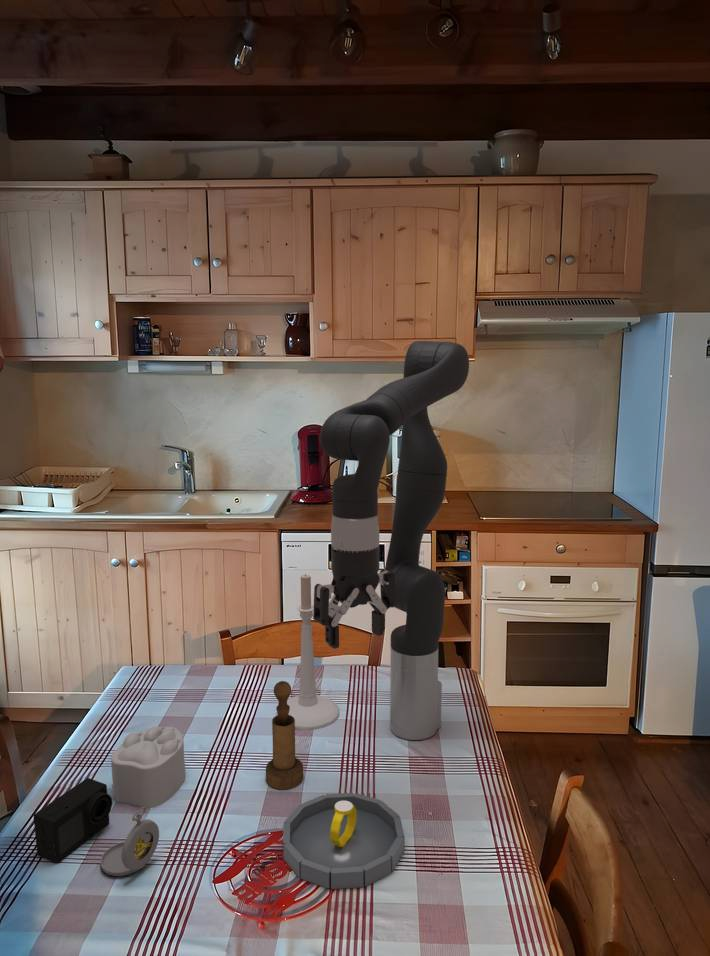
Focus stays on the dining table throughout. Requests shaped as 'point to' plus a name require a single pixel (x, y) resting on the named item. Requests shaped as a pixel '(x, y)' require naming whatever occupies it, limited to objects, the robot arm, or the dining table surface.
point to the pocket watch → (132, 848)
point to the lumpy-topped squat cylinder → (149, 767)
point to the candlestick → (309, 675)
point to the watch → (341, 810)
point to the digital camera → (72, 820)
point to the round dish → (361, 856)
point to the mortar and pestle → (283, 745)
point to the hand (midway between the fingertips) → (355, 640)
